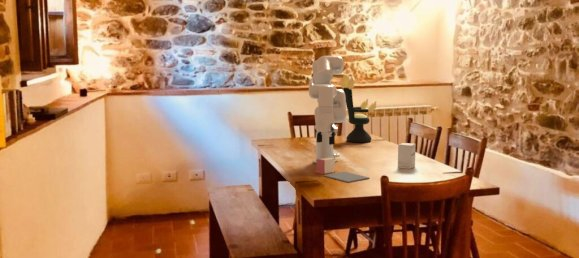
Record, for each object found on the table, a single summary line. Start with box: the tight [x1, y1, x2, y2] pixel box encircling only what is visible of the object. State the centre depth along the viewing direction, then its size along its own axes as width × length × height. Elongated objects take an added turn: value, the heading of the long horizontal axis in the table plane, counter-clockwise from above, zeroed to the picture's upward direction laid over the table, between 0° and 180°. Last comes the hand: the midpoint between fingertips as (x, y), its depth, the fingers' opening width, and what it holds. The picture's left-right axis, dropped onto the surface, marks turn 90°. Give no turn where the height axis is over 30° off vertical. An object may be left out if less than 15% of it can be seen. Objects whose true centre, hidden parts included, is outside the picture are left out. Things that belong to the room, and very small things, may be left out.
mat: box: [323, 171, 370, 184], centre depth 303 cm, size 14×18×1 cm
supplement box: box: [397, 142, 417, 170], centre depth 327 cm, size 7×7×13 cm
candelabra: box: [340, 74, 377, 144], centre depth 410 cm, size 19×22×45 cm
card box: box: [316, 157, 335, 175], centre depth 316 cm, size 8×4×7 cm, turn 127°
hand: (325, 143), depth 314 cm, fingers open, 9 cm apart
